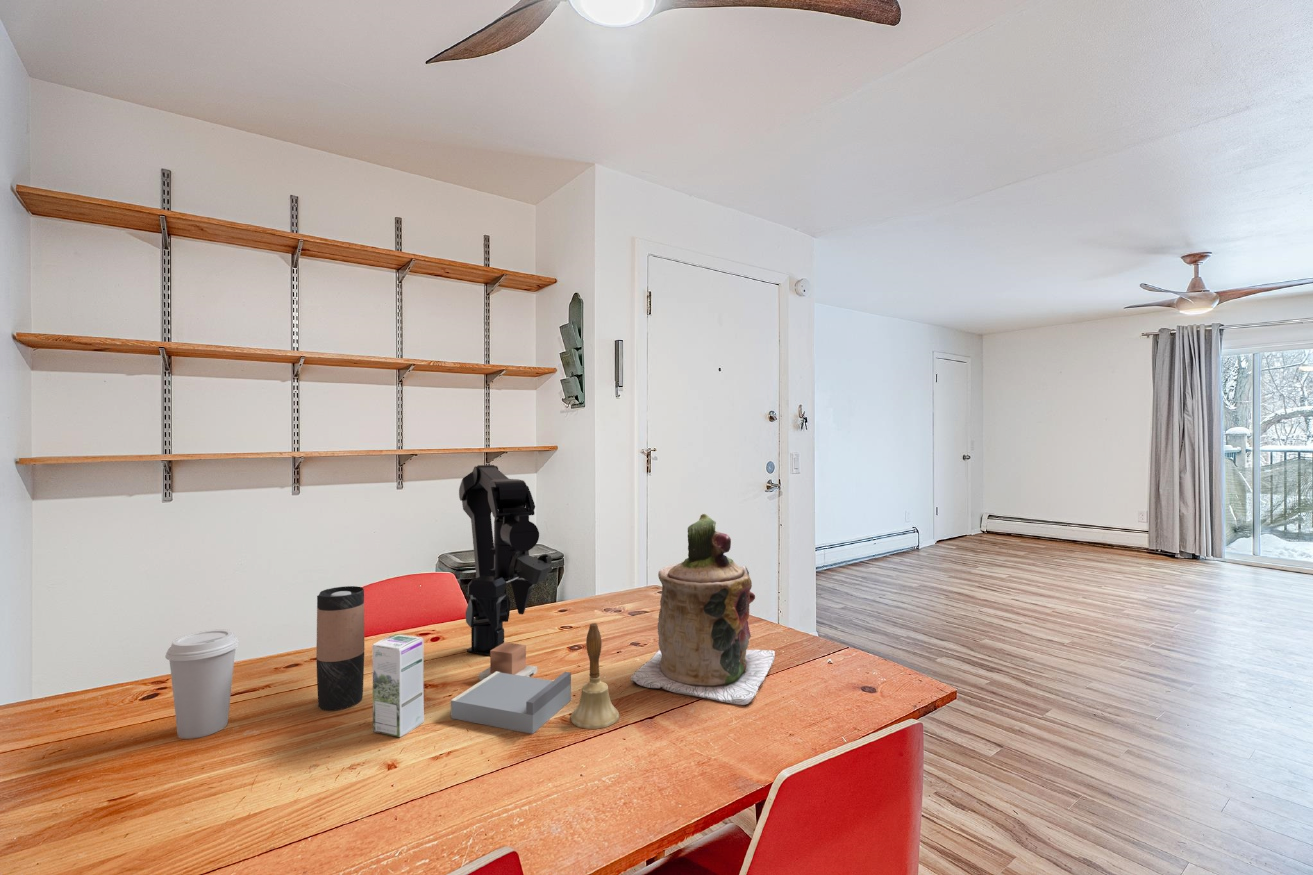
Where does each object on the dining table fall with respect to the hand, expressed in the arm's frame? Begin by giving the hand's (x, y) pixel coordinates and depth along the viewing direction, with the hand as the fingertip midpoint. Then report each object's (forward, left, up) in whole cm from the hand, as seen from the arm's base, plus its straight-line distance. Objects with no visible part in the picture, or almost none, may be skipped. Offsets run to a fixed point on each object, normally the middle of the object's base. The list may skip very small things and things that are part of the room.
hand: (508, 620), depth 117 cm
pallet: (0, 0, -11) cm, 11 cm away
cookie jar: (+37, +15, -11) cm, 41 cm away
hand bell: (+24, -10, -11) cm, 28 cm away
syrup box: (-5, -24, -11) cm, 27 cm away
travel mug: (-22, -20, -11) cm, 32 cm away
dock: (+9, -12, -11) cm, 19 cm away
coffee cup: (-35, -35, -11) cm, 51 cm away
